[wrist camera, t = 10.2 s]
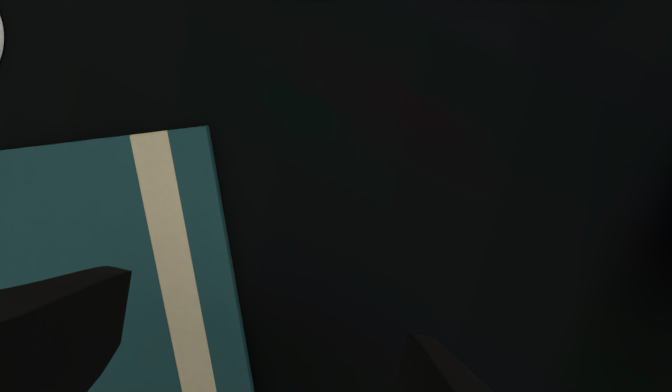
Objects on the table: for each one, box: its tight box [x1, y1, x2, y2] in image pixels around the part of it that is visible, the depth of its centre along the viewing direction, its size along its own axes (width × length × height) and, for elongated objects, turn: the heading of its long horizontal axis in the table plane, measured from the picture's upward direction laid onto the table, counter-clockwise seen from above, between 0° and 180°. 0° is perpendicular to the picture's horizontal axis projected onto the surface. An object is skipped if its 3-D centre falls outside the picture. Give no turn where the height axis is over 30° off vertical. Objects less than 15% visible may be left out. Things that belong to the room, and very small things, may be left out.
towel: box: [0, 126, 254, 392], centre depth 22 cm, size 13×20×1 cm, turn 97°
